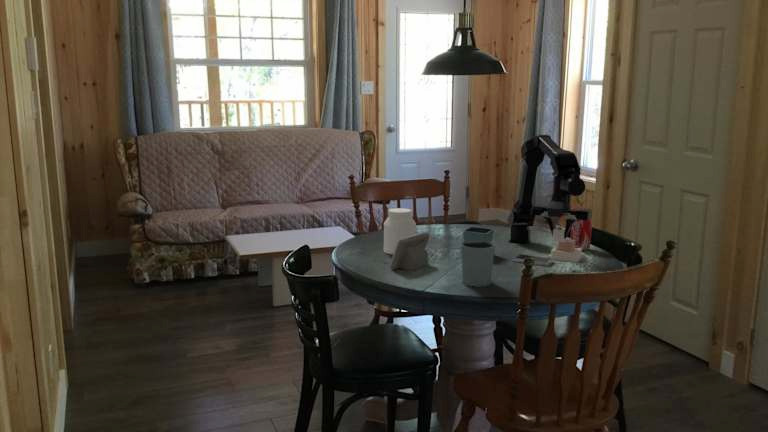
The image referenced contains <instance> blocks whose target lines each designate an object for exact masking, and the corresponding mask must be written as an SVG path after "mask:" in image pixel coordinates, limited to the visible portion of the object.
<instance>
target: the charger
mask: <svg viewBox="0 0 768 432" xmlns="http://www.w3.org/2000/svg"><path fill="white" fill-rule="evenodd" d="M557 243H558V244H557V246H558V251H563V252H571V253H574V251H575V240H571V238H570V239H569V238H566V241H565V242H557Z"/></svg>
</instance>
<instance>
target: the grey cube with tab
mask: <svg viewBox="0 0 768 432" xmlns="http://www.w3.org/2000/svg"><path fill="white" fill-rule="evenodd" d="M564 233H565V227H564V228H563V227H562V226H559V227H556V228H555V229H553V236H552V242H556V243H558V242H565V241H566V239H567V238H566V239H564Z"/></svg>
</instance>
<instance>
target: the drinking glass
mask: <svg viewBox="0 0 768 432" xmlns="http://www.w3.org/2000/svg"><path fill="white" fill-rule="evenodd" d="M460 246H461V247H460V249H461V265H462V268H461V274H462V277H461V278H462V284H463V285H465V286H469V287H472V286H475V287H474V288H482V287H481V286H484V287H488V286H490V285H491V284H492V274H493V265H494V256H495V250H496V245H495V243H493V242H491V243H490V242H485V241H466V242H464V241H463V242H461V243H460ZM487 285H488V286H487Z"/></svg>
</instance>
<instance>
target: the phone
mask: <svg viewBox="0 0 768 432" xmlns="http://www.w3.org/2000/svg"><path fill="white" fill-rule="evenodd" d="M525 258H533V259H534V260H535V262H536V264H535V265H537V266H543V267H544V266H545V267H549V266H550V265H551V264H553V263H554V259H552V258H548V257H544V256H535V255H528V254H521V253H519V254H517V255H515V256H514V257H513V259H512V261H513V262H516V263H523V261H524V259H525ZM523 264H524V263H523Z"/></svg>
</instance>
